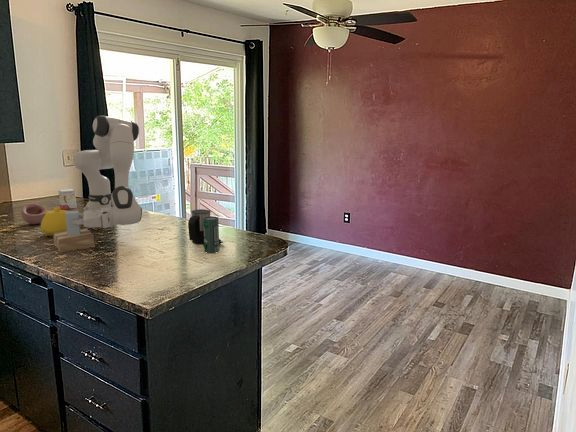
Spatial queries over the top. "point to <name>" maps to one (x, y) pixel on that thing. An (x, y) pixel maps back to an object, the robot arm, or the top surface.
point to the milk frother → (198, 226)
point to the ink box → (67, 199)
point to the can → (211, 234)
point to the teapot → (54, 221)
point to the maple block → (73, 240)
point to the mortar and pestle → (33, 213)
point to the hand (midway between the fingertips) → (72, 219)
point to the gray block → (71, 228)
